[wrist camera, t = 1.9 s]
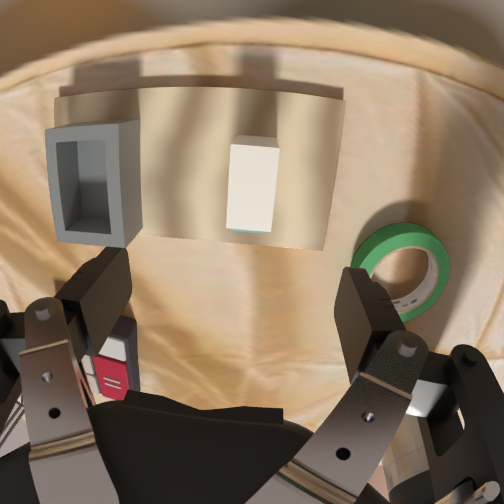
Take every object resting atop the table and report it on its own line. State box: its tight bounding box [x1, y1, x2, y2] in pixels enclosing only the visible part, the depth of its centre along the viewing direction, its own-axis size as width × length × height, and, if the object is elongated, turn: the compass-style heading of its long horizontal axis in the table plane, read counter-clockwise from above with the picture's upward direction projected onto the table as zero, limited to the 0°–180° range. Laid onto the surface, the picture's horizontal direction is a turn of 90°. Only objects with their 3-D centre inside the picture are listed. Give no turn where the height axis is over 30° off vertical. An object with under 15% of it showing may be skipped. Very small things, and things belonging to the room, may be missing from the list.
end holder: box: [45, 119, 143, 248], centre depth 25 cm, size 7×10×4 cm
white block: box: [226, 135, 280, 234], centre depth 24 cm, size 3×6×6 cm, turn 176°
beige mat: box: [54, 87, 346, 251], centre depth 27 cm, size 27×14×1 cm, turn 86°
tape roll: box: [350, 223, 450, 322], centre depth 31 cm, size 11×11×3 cm
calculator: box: [82, 316, 140, 400], centre depth 38 cm, size 11×4×15 cm
